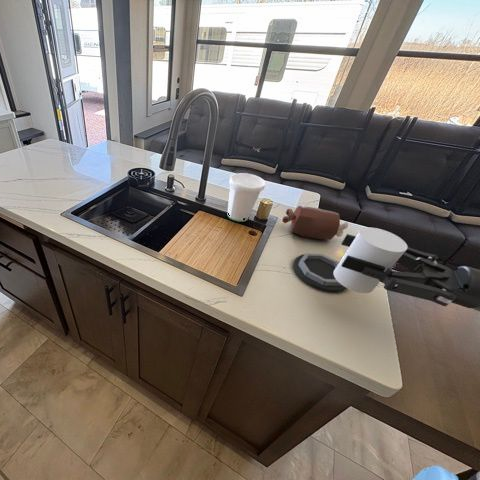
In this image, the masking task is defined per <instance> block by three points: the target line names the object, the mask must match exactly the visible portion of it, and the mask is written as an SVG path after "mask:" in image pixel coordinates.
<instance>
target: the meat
mask: <svg viewBox="0 0 480 480" xmlns="http://www.w3.org/2000/svg"><path fill="white" fill-rule="evenodd" d="M281 222H282V223H283V224H287V223H290V229H291V232H292V233H293V234H297V235H299V236H301V237H305V238H310V239H317V240H327V241H331V240H333V238H334V237H335V236H336V237H338V238H340V237H342V236H343V234H344V230H346V229H347V228H348V226H349V222H347V221H345V220H344V221H342V222H341V216H340V214H339V213H338V212H336V211H332V210H326V209H322V208H319V207H313V206H309V205H298V206H297V207H296V208H295V210H294V211H293V209H292V208H291V207H289V208H287V209H286V210H285V215H284V216H283V218H282V221H281Z"/></svg>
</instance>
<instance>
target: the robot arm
mask: <svg viewBox="0 0 480 480" xmlns="http://www.w3.org/2000/svg"><path fill="white" fill-rule="evenodd" d="M356 236H357V235H352V234H350V233H349V234H348V233H347V234H346V235H345V236H344V238H343V239H342V241H341V246H345V247H347V248H349V247H350V245H351V244H352V242H353V241H354V239H355V238H356ZM407 247H408V248H407V250H406V251H405V252H404V253H403V255H402V256H401V257H400V258H399V259H398V261H397V262H396V263H397V264H399V265H401V266H402V267H404V268H406V269H407V271H398V270H397V271H395V270H393V269H392V268H391V269H390V268H388V269H387V270H386V271H385V272H384V270H385V267H384V266H381V265H378V264H374V263H371V262H368V261H365V260H362V259H358V258H355V257H352V256H349V255H348V256H347V257H346V259H345V260H344V262H343V263H342V267H344V268H347V269H350V270H353V271H356V272H359V273H362V274H364V275H366V276H369V277H373V278H376V279H379V281H380V282H379V283H382V284H384V285H383V288H384V289H385V290H386V291H390V292H393V293H397V294H401V295H406V296H409V297H414V298H417V299H421V300H424V301H425V300H426V301H430V302H433V303H435V304H437V305H439V306H442V307H447V306H449V305H450V304H451V303H452V304H454V305H458V306H461V307H464V308H467V309H471V310H473V311H477V312H480V269H477V268H473V267H471V266H466V265H461V266H457V267H448V266H446V265H444V264H441V263H439V262H437V260H438V259H439V257H438V255H436V254H433V253H429V252H424V251H422V250H418V249H416V248H412V247H410V246H407ZM396 263H395V264H396ZM408 271H409V272H408ZM412 480H460V479H459V477H458V475H456V474H455V473H454V472H453V471H450V470H447V469H445V468H444V467H442V466H440V465H431V466H430V467H425V468H423V469H422V470H420V471H419V472H418V473H417V474H416V475H415V476H414V477H413V478H412ZM467 480H480V471H477V472H476V473H474V474H473V475H472V476H471V477H469V478H467Z"/></svg>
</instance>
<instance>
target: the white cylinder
mask: <svg viewBox="0 0 480 480" xmlns="http://www.w3.org/2000/svg"><path fill="white" fill-rule="evenodd" d="M355 236H356V238H355V239H354V241H353V242H352V244H351V245H350V247H347V250H346V251H345V253H344V255H343V256H342V258H341V259H340V261H338V262H339V264H338V265H337V267H336V269H335V270H334V273H333V274H334V277H335V279H336V280H337V281H338V282H339V283H340V284H341V285H343V286H344V287H346V289H348V290H350V291H352V292H355V293H360V294H370V293H372V292H373V291H374V290H375V288H376V287H377V286H378V285H379V283H381V282H380V281H379V279H376V278H373V277H369V276H366V275H364V274H362V273H359V272H356V271H353V270H350V269H347V268H344V267H342V263H343V262H344V260H345V259H346V257H347V256H348V255H349V256H352V257H355V258H358V259H362V260H365V261H368V262H371V263H374V264H378V265H381V266H384V267H385V270H384V272H385V271H386V270H387V269H388V268H390V269H391V270H392V268H393V267H394V266H395V265H396V262H397V261H398V259H399V258H400V257H401V256H402V255H403V253H404V252H405V251H406V250H407V248H408V247H409V246H408V244H407V242H406V241H405V240H404V239H402V238H401V237H400V236H398V235H397V234H394V233H393V232H390V231H388V230H385V229H383V228H382V229H381V228H378V227H367V226H366V227H363V228H361V229H360V230H359V231H358V233H357V235H355Z"/></svg>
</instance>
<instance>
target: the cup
mask: <svg viewBox="0 0 480 480" xmlns="http://www.w3.org/2000/svg"><path fill="white" fill-rule="evenodd" d="M229 177H230V178H229V181H228V184H229V194H228V203H227V212H228V213H229V215H230V216H229V215H228V213H226V215H227V217H228V219H229V220H232V221H233V222H237V223H240V222H241V223H244V222H247V221H248V220H249V219H245V220H243V218H248V217H249V218H250V216H251V214H252V211H253V210H254V207H255V204H256V202H257V200H258V199H259V196H260V193H261V192H262V191H263V190H264V189H265V187H266V184H267V183H266V181H265V180H264V178H262V177H260V176H258V175H255V174H251V173H246V172H244V173H243V172H239V173H234V174H232V175H230V176H229Z"/></svg>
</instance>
